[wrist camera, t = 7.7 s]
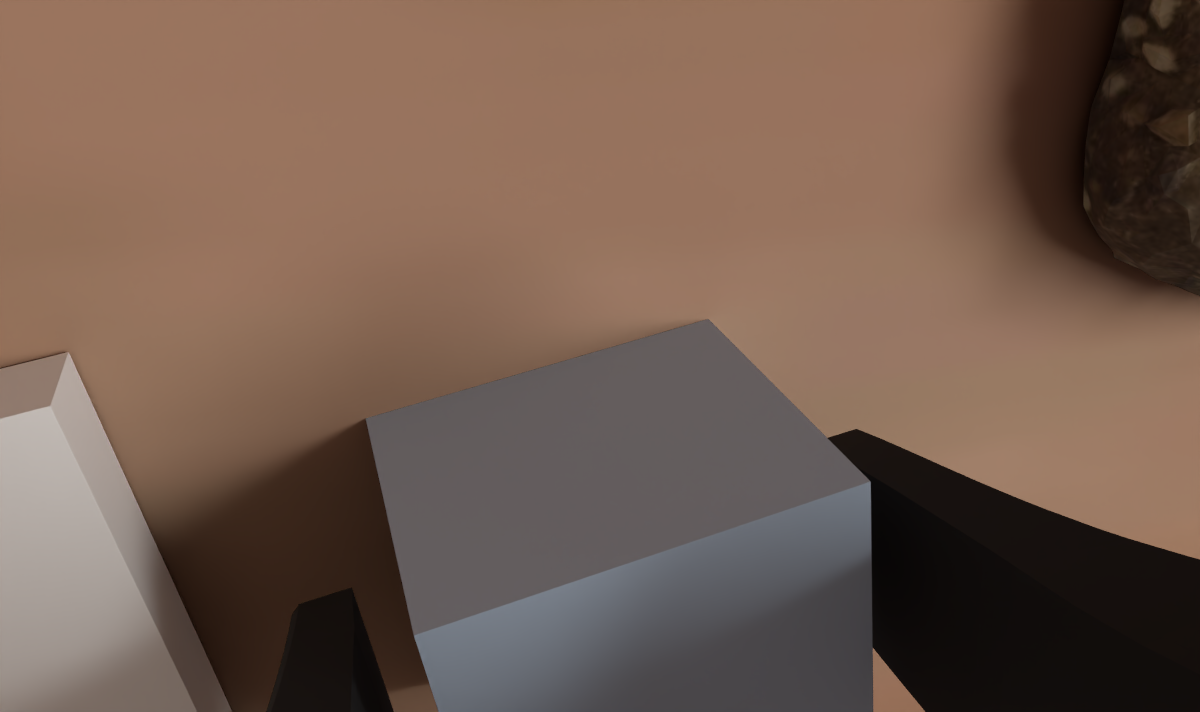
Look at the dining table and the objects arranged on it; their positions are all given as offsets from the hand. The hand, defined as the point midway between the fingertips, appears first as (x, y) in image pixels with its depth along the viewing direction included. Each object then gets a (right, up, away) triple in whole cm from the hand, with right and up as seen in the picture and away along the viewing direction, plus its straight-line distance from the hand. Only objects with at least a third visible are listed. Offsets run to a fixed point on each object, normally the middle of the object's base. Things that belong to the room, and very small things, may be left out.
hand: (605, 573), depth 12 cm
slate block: (-1, +1, +1) cm, 2 cm away
